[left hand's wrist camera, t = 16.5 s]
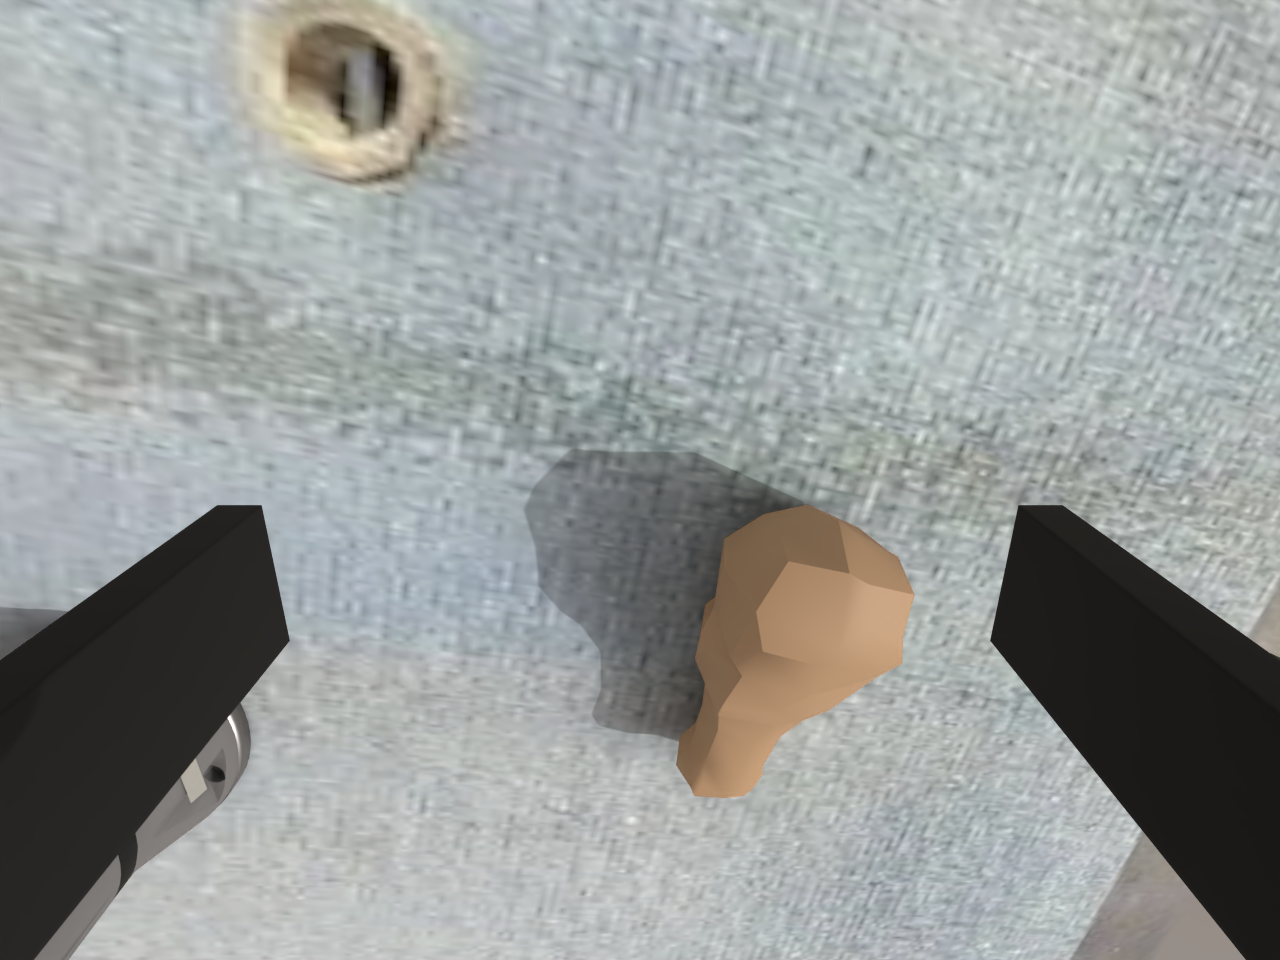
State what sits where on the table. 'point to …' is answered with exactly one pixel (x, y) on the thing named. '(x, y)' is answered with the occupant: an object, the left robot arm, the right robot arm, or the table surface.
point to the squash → (788, 639)
